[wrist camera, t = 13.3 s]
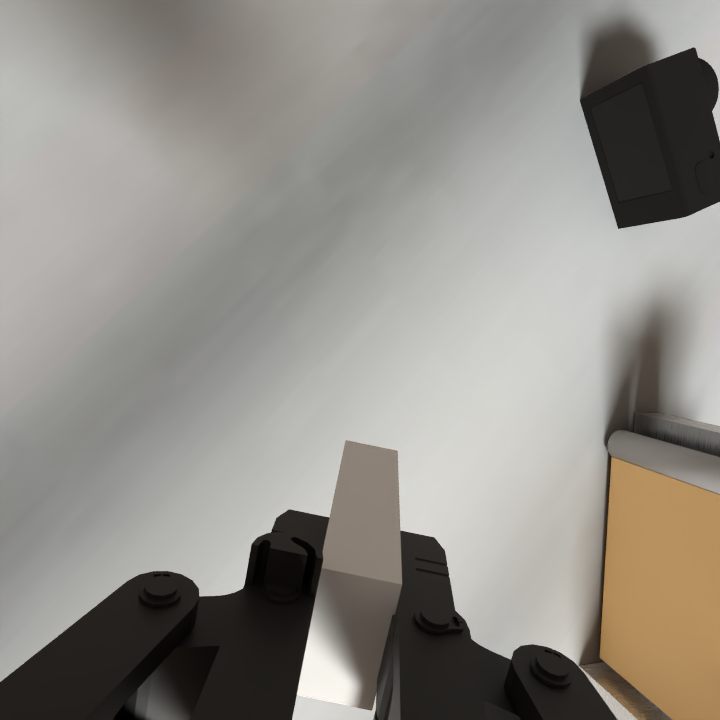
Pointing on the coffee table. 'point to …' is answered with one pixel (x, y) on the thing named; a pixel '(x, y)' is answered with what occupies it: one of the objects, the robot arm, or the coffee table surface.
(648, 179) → the digital camera
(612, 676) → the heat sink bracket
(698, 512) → the orange wooden board
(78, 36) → the coffee table surface
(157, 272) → the coffee table surface
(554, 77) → the coffee table surface
